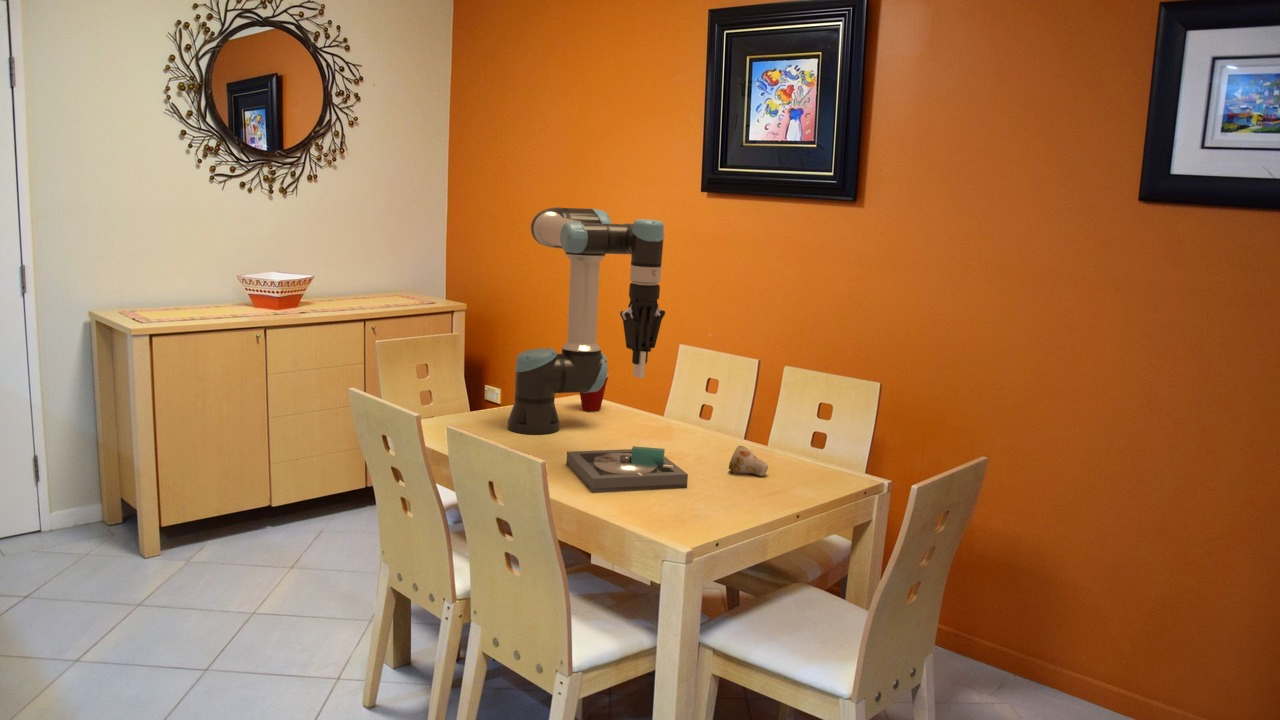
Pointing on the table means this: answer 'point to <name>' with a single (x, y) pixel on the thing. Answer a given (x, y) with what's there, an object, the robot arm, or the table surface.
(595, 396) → the plastic cup
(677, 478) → the housing
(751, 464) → the beige spotted tapered lump
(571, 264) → the robot arm
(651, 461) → the dial
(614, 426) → the table surface
